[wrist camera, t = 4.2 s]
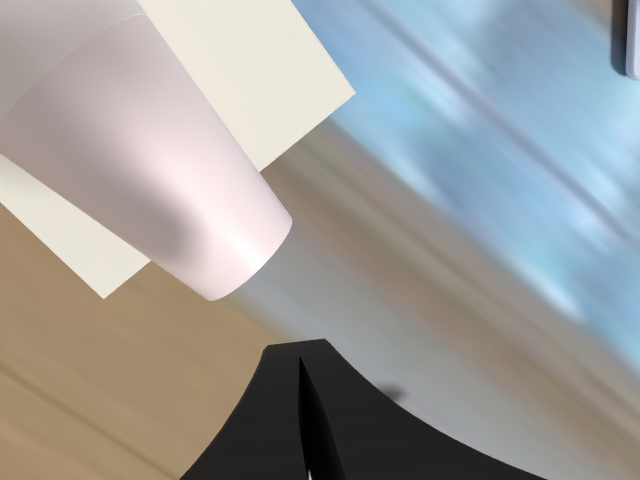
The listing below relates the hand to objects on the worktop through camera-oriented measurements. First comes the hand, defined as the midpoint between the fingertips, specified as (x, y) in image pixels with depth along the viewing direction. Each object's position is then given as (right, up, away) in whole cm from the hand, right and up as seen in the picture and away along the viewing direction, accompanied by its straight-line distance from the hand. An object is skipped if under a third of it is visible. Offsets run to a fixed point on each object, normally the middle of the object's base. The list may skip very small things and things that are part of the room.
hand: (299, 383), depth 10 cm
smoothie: (-2, +2, +5) cm, 6 cm away
